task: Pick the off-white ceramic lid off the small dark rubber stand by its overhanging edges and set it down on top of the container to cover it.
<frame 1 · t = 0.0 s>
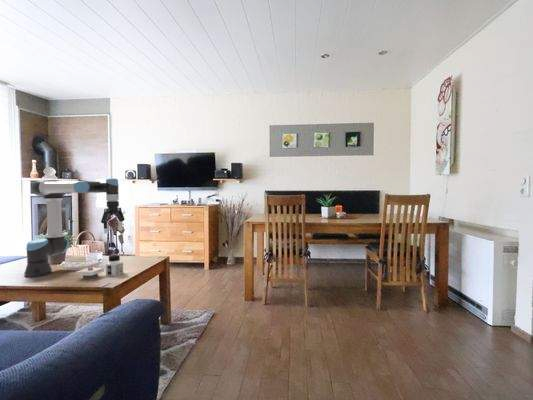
hand: (113, 231, 209), 28 cm above the table, fingers open, 13 cm apart
container: (114, 274, 205), on the table
lid: (90, 273, 197), point 3 cm above the table, touching stand
stand: (90, 277, 197), on the table
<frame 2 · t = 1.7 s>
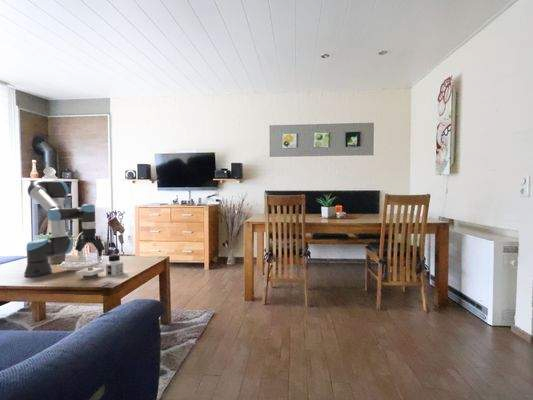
hand: (90, 261, 197), 11 cm above the table, fingers open, 13 cm apart
nothing on the table moved.
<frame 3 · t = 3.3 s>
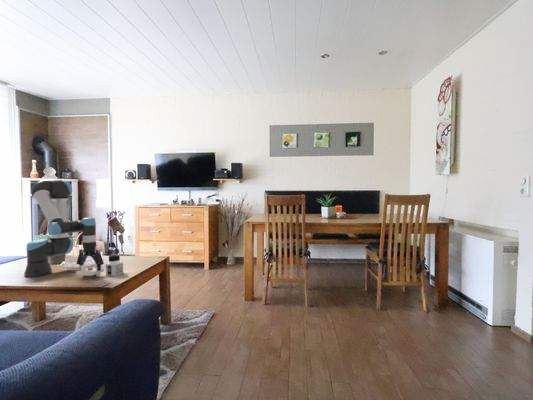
hand: (90, 275, 197), 2 cm above the table, fingers closed on lid, 11 cm apart
lid: (90, 273, 197), point 3 cm above the table, touching gripper, stand
everything else where it was.
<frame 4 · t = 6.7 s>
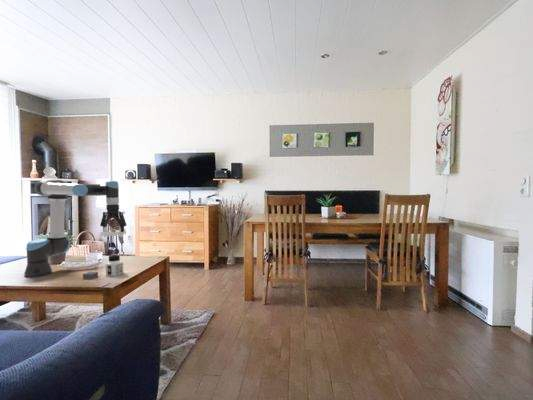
hand: (113, 236, 204), 25 cm above the table, fingers closed on lid, 11 cm apart
lid: (113, 234, 204), point 27 cm above the table, touching gripper
everything else where it was.
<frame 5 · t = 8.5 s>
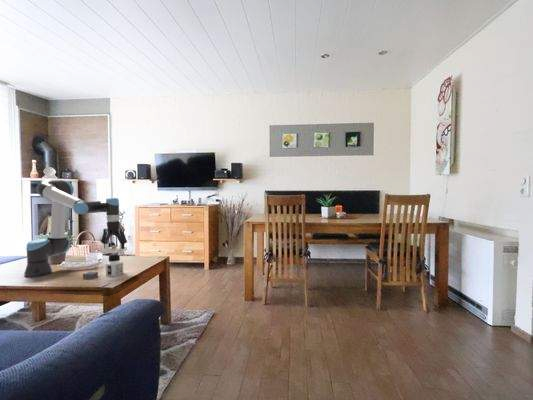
hand: (114, 253, 204), 14 cm above the table, fingers closed on lid, 11 cm apart
lid: (114, 251, 204), point 15 cm above the table, touching gripper
everything else where it was.
when the fingers open (12 cm above the table, at t = 9.9 s): lid stays where it is, resting on container.
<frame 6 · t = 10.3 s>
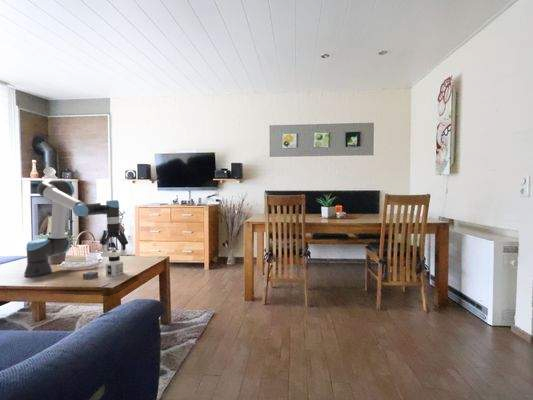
hand: (114, 254, 204), 13 cm above the table, fingers open, 13 cm apart
container: (114, 274, 205), on the table, touching lid
lid: (114, 255, 204), point 13 cm above the table, touching container
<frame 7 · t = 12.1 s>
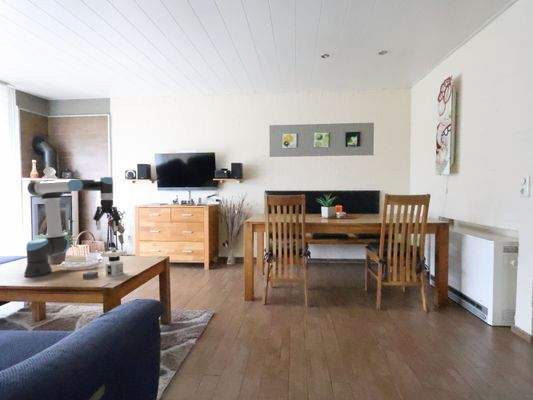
hand: (107, 230, 208), 29 cm above the table, fingers open, 13 cm apart
nothing on the table moved.
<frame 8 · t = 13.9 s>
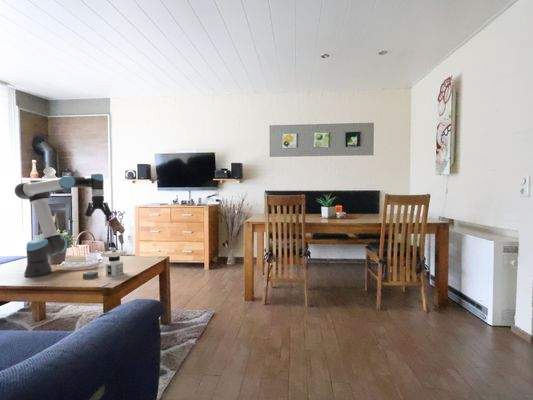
hand: (98, 225, 215), 32 cm above the table, fingers open, 13 cm apart
nothing on the table moved.
at the end: lid 0.1 cm from the container (horizontally); lid point 13.0 cm above the table; lid tilted 0° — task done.
